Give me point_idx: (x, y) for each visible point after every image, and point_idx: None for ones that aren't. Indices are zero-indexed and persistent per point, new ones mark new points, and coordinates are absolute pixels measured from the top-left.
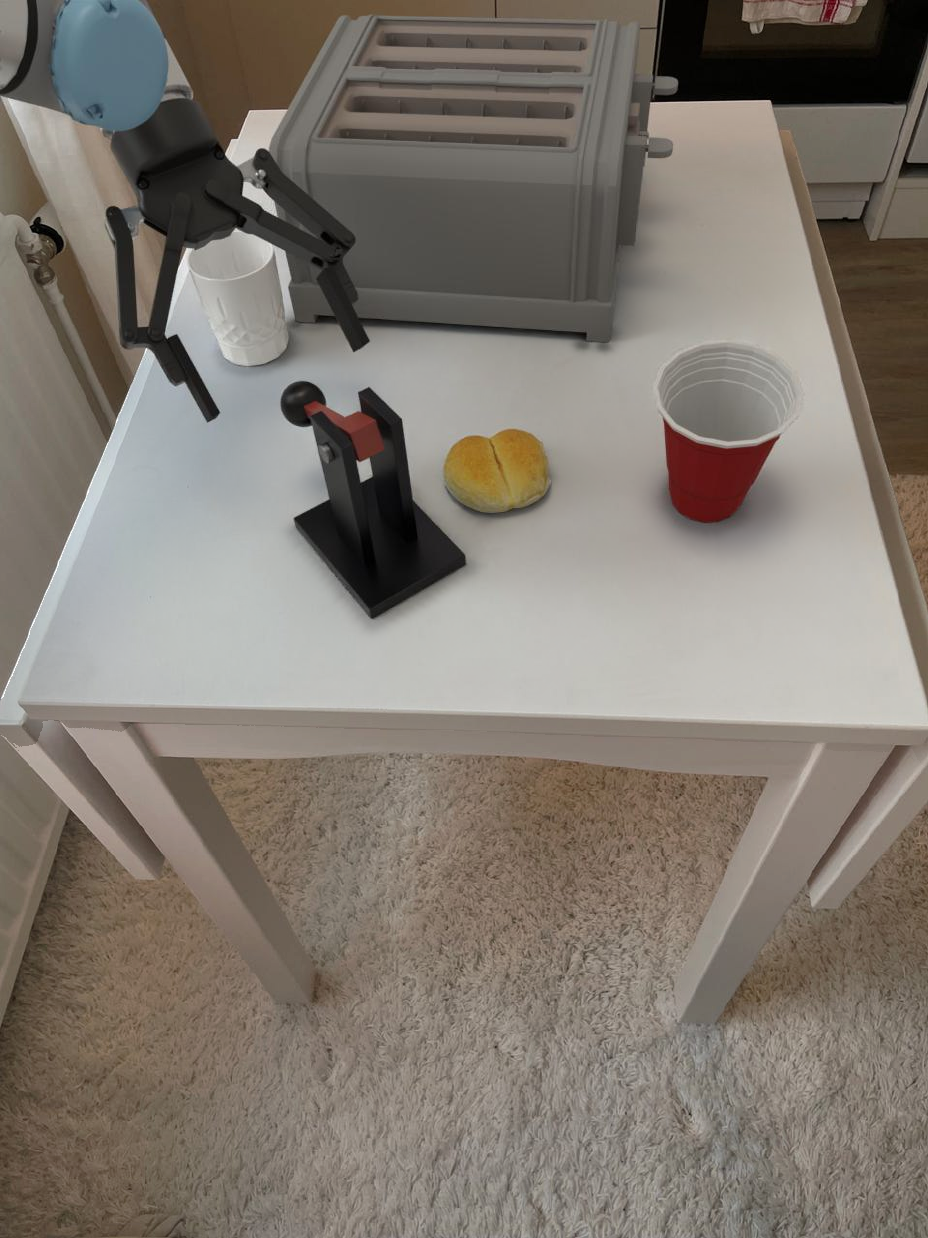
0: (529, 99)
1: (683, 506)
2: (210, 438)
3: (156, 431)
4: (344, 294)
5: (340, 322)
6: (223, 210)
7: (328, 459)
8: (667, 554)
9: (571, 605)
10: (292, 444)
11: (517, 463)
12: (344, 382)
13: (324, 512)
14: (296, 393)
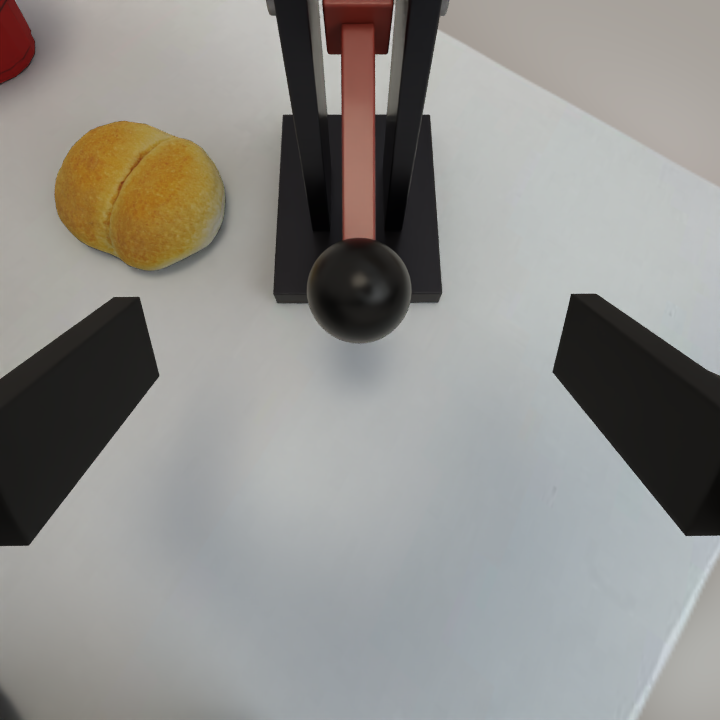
0: None
1: (25, 30)
2: (474, 587)
3: (563, 687)
4: (30, 363)
5: (118, 408)
6: None
7: None
8: (98, 26)
9: (231, 33)
10: (354, 469)
11: (122, 133)
12: (182, 565)
13: None
14: (376, 253)
